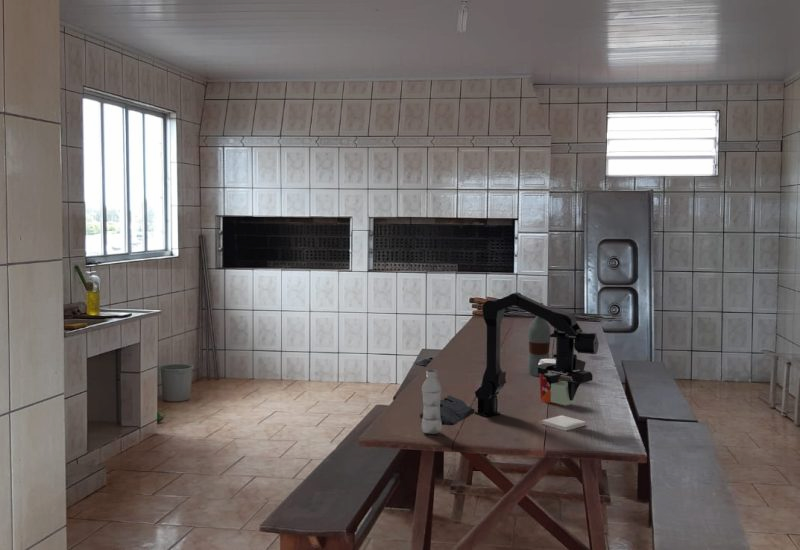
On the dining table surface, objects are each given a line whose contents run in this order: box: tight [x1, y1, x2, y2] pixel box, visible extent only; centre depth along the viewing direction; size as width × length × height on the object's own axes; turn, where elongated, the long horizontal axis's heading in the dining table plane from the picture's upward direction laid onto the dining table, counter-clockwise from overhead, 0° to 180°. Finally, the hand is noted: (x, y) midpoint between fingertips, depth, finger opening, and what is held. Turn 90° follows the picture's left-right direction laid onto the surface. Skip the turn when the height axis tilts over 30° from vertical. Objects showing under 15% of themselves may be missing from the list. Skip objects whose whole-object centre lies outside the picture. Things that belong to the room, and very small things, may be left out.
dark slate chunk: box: [419, 395, 476, 426], centre depth 279 cm, size 15×22×5 cm
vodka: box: [527, 302, 552, 377], centre depth 341 cm, size 9×9×30 cm
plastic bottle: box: [421, 369, 443, 435], centre depth 257 cm, size 6×7×20 cm
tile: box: [541, 414, 586, 432], centre depth 267 cm, size 10×10×1 cm
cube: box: [551, 380, 578, 406], centre depth 267 cm, size 6×6×6 cm
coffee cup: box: [538, 358, 556, 404], centre depth 297 cm, size 8×8×15 cm
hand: (563, 398), depth 267 cm, fingers closed on cube, 6 cm apart
